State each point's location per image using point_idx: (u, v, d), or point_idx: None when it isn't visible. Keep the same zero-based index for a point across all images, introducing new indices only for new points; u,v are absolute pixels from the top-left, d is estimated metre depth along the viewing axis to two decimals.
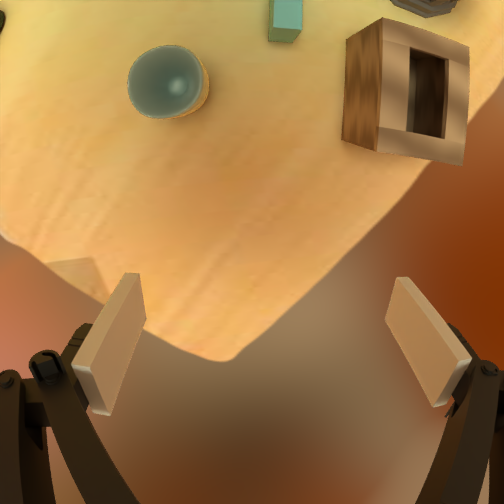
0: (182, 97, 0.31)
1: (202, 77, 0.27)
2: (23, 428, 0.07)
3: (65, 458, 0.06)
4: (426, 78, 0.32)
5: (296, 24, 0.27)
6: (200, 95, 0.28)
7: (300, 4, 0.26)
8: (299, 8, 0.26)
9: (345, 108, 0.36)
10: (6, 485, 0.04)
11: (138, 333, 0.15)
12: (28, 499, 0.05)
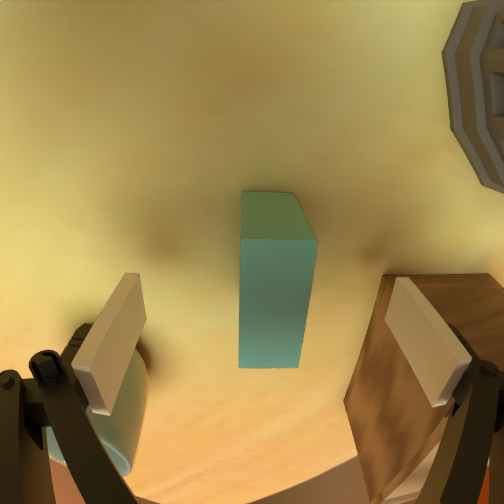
0: None
1: (127, 459, 0.15)
2: (23, 428, 0.07)
3: (65, 458, 0.06)
4: None
5: (287, 360, 0.15)
6: (132, 466, 0.16)
7: (302, 318, 0.14)
8: (299, 327, 0.14)
9: (356, 378, 0.25)
10: (6, 485, 0.04)
11: (138, 333, 0.15)
12: (28, 499, 0.05)
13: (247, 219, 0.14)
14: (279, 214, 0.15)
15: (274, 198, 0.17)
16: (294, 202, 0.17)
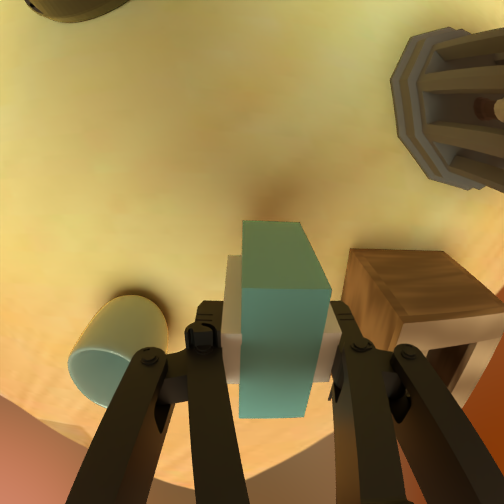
0: None
1: None
2: (152, 410, 0.08)
3: (191, 425, 0.08)
4: None
5: (292, 410, 0.13)
6: None
7: (310, 370, 0.12)
8: (306, 379, 0.12)
9: None
10: (108, 462, 0.06)
11: None
12: (127, 481, 0.06)
13: (250, 259, 0.12)
14: (286, 252, 0.13)
15: (279, 230, 0.16)
16: (302, 235, 0.15)
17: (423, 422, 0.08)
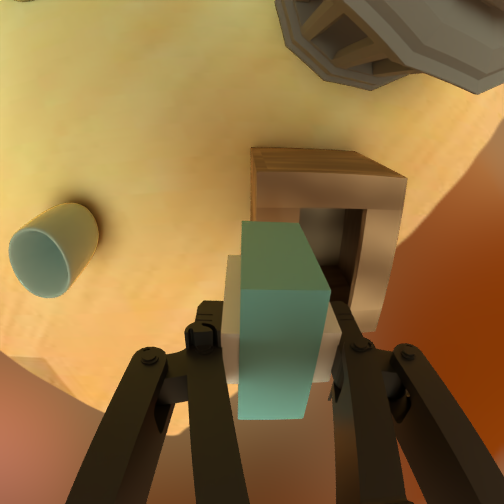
0: None
1: (68, 262, 0.26)
2: (152, 410, 0.08)
3: (191, 425, 0.08)
4: None
5: (292, 411, 0.13)
6: (72, 278, 0.27)
7: (309, 371, 0.12)
8: (305, 380, 0.12)
9: None
10: (108, 462, 0.06)
11: None
12: (126, 481, 0.06)
13: (249, 260, 0.12)
14: (285, 252, 0.13)
15: (278, 231, 0.16)
16: (301, 236, 0.15)
17: (423, 422, 0.08)
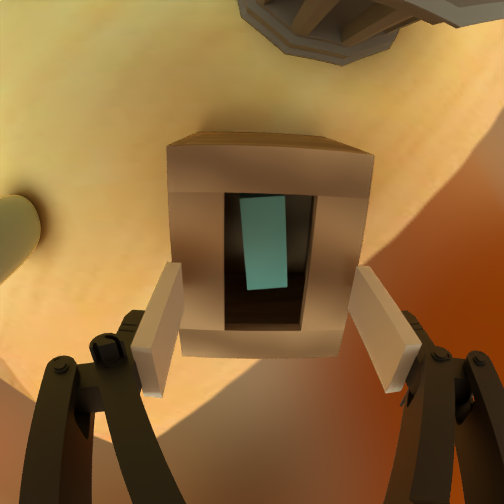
0: None
1: None
2: (72, 416, 0.08)
3: (113, 440, 0.07)
4: None
5: (279, 280, 0.24)
6: (0, 273, 0.21)
7: (283, 248, 0.23)
8: (282, 254, 0.23)
9: None
10: (44, 472, 0.05)
11: (179, 320, 0.16)
12: (64, 488, 0.05)
13: None
14: None
15: None
16: None
17: (480, 423, 0.07)
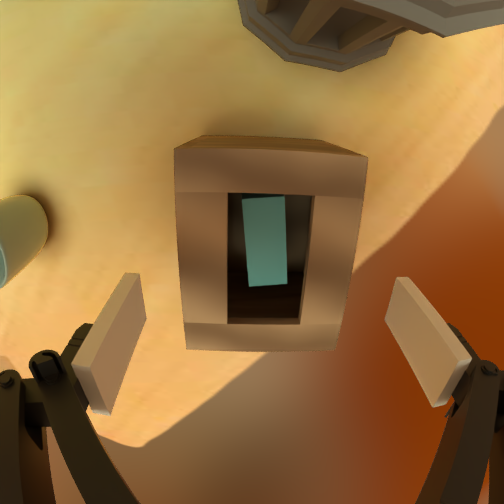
0: None
1: (4, 254, 0.21)
2: (24, 428, 0.07)
3: (65, 458, 0.06)
4: None
5: (279, 277, 0.25)
6: (10, 270, 0.22)
7: (283, 246, 0.24)
8: (282, 252, 0.24)
9: None
10: (6, 485, 0.04)
11: (138, 333, 0.15)
12: (28, 499, 0.05)
13: None
14: None
15: None
16: None
17: None
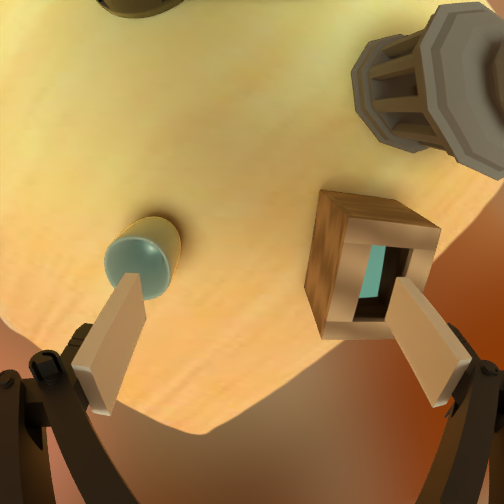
0: (155, 267, 0.37)
1: (170, 270, 0.33)
2: (23, 428, 0.07)
3: (65, 458, 0.06)
4: None
5: (373, 292, 0.37)
6: (169, 284, 0.34)
7: (379, 273, 0.36)
8: (378, 277, 0.36)
9: (310, 262, 0.43)
10: (6, 485, 0.04)
11: (138, 333, 0.15)
12: (28, 499, 0.05)
13: None
14: None
15: None
16: None
17: None
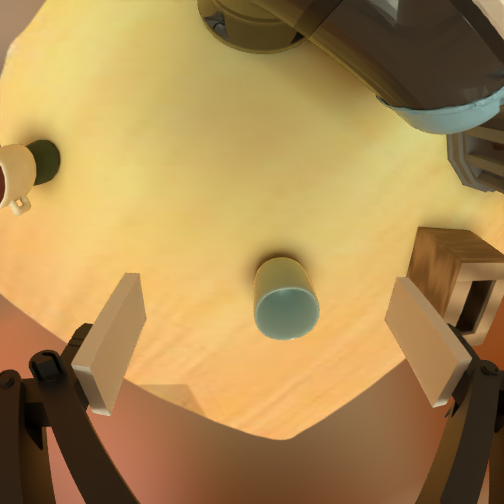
0: (291, 307, 0.41)
1: None
2: (23, 428, 0.07)
3: (65, 458, 0.06)
4: None
5: None
6: None
7: None
8: None
9: None
10: (6, 485, 0.04)
11: (138, 333, 0.15)
12: (28, 499, 0.05)
13: None
14: None
15: None
16: None
17: None
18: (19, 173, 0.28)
